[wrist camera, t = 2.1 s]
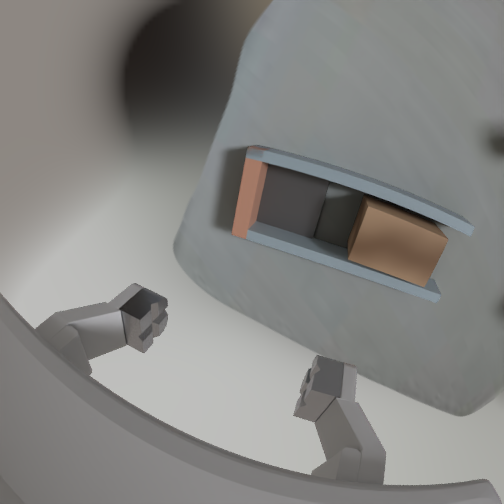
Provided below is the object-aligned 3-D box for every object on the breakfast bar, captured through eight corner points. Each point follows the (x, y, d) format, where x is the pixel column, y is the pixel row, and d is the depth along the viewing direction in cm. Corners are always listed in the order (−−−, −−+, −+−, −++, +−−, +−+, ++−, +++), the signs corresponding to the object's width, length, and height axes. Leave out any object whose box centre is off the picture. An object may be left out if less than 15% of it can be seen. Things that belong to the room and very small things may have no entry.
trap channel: (257, 144, 25) (247, 146, 23) (463, 216, 21) (474, 226, 18) (242, 224, 29) (231, 234, 27) (430, 287, 25) (436, 303, 23)
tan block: (364, 194, 24) (368, 206, 20) (434, 222, 23) (448, 239, 19) (347, 240, 27) (347, 259, 23) (414, 265, 25) (424, 287, 21)
